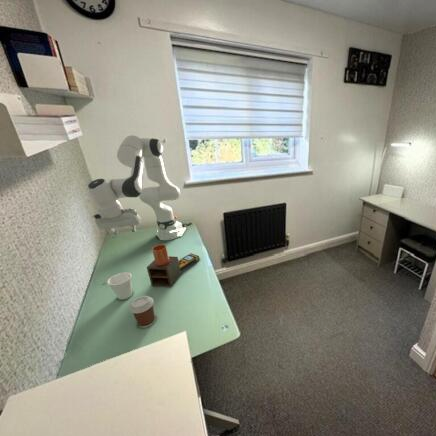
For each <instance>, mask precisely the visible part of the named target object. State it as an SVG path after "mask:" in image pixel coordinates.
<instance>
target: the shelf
mask: <svg viewBox="0 0 436 436" xmlns="http://www.w3.org/2000/svg"><path fill="white" fill-rule="evenodd" d="M168 257H169V262H168V263H167V264H164V265H156V263H155V259H154V260H153V261H151V262H150V264H148V265H147V266H146V271H147V273H148V277H149V281H150V284H151V286H152V287H169V288H172V287H173V285H174V284H175V283H176V282H177V281H178V279H179V278H180V276H181V275H182V271H180V266H179V261H178V260H179V258H178V256H169V255H168Z"/></svg>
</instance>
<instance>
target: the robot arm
mask: <svg viewBox="0 0 436 436" xmlns="http://www.w3.org/2000/svg"><path fill="white" fill-rule="evenodd" d="M163 153H164V145H163V143H162V142H161V140H159V139H158V138H153V137H152V138H148V137H143V138H142V137H139V136H137V135H134V134H133V135H127V136H126V137H125V138H124V139H123V140H122V142H121V144H120V145H119V147H118V149H117V152H116V158H117V160H118V162H120V163H121V164H122V165H123V166H125V167H127V168H131V171H130V175H129V176H128V177H126V178H116V179H115V178H114V179H104V178H97V179H94V180H92V181H90V182H89V183H88V185H87V189H88V192H89V194H90V196H91V198H92V200H93V201H94V203H95V204H96V205H97V207H98V210H96V212H94V213H93V214H92V218H93V220H94V222H95V225H96V226H97V227H98V228H99V229H100V230H102V231H103V230H108V231H110V232H111V233H113V235H118V234H119V233H120V232H119V230H118V229H117V228H125V227H132V228H131V232H132V233H135V232H137V228H136V227H137V226H138V225H140V224H141V222H142V219H141V216H140V215H139V214H138V213H137V211H136V210H135V209H134V208H131V207H129V208H124V207H123V205H122V204H121V202H120V201H119V199H123V198H138V197H139V200H140V201H141V202H142V203H144V204H147V206H149V207H150V208H152V210H153V211H154V214H155V218H156V231H157V234H156V236H157V237H158V239H159V240H160V241H172V240H175V239H178V238H181V237H183V235H184V233H185V232H186V230H187V227H186V226H190V225H191V224H192V222H189V223H183V222H180V221H178V220H177V219H178V216H177V215H174V212H173V208H172V207H170V206H169V205H166V204H164V203H165V202H173V201H176V200H179V199H180V197H181V190H180V188H179V187H178V186H176V185H175V184H173V183H172V182H171V181H170V180H169V179H168V176H167V174H166V169H165V166H164V162H163V161H164V160H163V158H162V154H163ZM144 172H146V176H147V179H148V180H149V181H152V182H154V183H157V184H158V185H159V186H148V187H144V186H143V179H144ZM185 225H186V226H185Z"/></svg>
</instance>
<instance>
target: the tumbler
mask: <svg viewBox="0 0 436 436" xmlns="http://www.w3.org/2000/svg"><path fill="white" fill-rule="evenodd" d="M151 251H152V255H153V259H154V260H155V263H156V265H164V264H167V263H168V262H169V257H168V256H169V253H168V249H167V245H166V244H163V243H162V244H156V245H154V246H153V247H152V248H151Z"/></svg>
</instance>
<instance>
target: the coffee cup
mask: <svg viewBox="0 0 436 436" xmlns="http://www.w3.org/2000/svg"><path fill="white" fill-rule="evenodd" d="M154 303H155V301H154V298H152V297H151V296H148V295H140V296H137V297H136V298H134V299H133V300H132V301H131V303H130V305H129V307H128V309H129V312H130V313H131V314H133V316H134V318H135V320H136V322H137V324H138V326H139V327H140V328H143V329H145V328H148V327H151V326H152V325H153V324H154V323H155V322H156V316H155V310H154Z"/></svg>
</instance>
